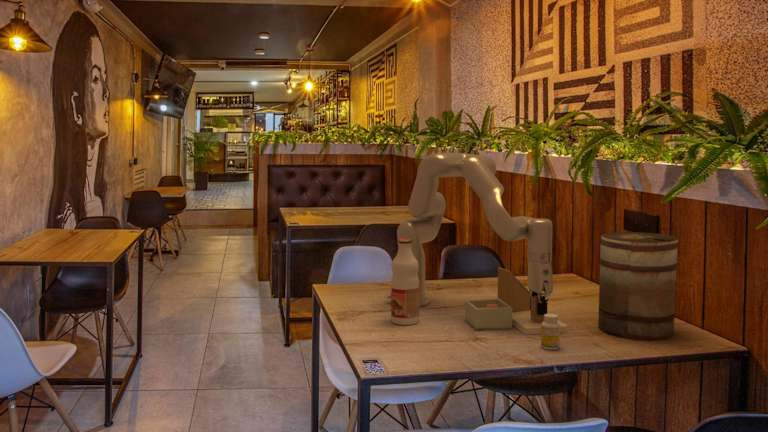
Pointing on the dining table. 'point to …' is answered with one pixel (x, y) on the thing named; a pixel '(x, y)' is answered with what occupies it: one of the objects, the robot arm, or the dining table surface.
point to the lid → (533, 320)
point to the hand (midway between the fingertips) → (538, 311)
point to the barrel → (637, 285)
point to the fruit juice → (404, 285)
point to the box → (488, 314)
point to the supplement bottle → (550, 332)
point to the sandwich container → (512, 291)
